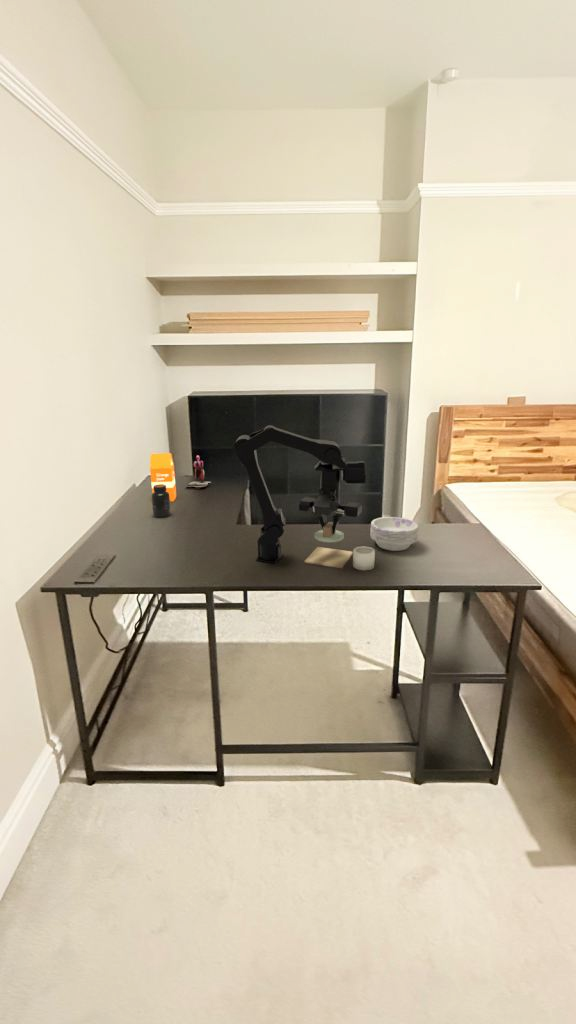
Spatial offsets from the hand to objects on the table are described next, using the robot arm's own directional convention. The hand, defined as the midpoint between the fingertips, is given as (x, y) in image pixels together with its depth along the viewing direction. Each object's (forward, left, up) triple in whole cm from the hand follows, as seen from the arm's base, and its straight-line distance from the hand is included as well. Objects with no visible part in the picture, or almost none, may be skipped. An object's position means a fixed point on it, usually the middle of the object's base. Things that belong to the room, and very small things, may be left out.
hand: (329, 533), depth 162 cm
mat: (0, 0, -8) cm, 8 cm away
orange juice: (-86, +36, -9) cm, 94 cm away
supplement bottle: (-74, +17, -9) cm, 77 cm away
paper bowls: (+17, +17, -9) cm, 25 cm away
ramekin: (+12, -2, -8) cm, 14 cm away
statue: (-83, +58, -9) cm, 102 cm away
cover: (0, 0, -1) cm, 1 cm away
